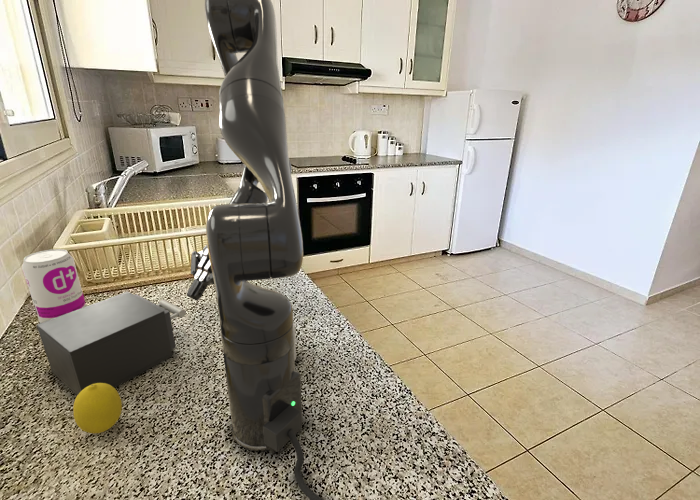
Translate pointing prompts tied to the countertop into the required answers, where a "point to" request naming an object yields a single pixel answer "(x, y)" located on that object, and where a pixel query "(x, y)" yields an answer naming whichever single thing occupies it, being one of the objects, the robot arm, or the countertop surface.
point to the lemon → (97, 408)
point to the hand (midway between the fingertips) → (191, 298)
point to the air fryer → (106, 341)
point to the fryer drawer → (168, 315)
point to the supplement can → (53, 283)
